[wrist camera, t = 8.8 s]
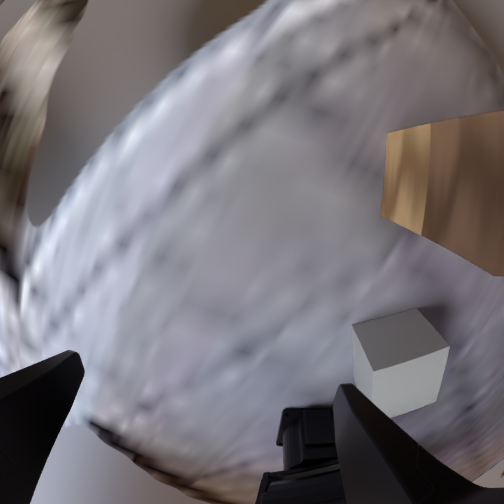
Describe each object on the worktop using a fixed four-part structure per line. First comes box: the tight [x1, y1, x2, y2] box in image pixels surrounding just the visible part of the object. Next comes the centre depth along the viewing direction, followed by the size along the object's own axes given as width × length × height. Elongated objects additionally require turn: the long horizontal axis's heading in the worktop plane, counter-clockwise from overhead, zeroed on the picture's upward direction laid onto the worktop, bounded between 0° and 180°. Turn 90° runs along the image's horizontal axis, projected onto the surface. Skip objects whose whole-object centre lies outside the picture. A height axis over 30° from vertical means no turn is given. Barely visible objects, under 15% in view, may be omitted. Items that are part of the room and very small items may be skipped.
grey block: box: [352, 308, 450, 418], centre depth 19 cm, size 6×6×6 cm
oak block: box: [380, 123, 431, 236], centre depth 15 cm, size 6×6×6 cm
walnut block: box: [421, 111, 504, 276], centre depth 9 cm, size 6×6×6 cm
